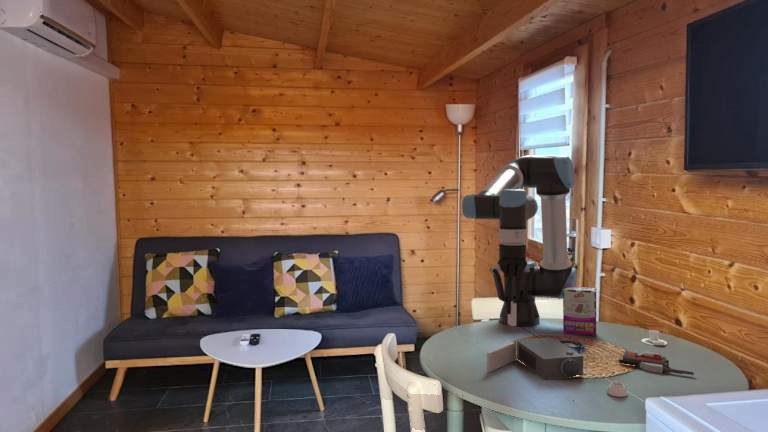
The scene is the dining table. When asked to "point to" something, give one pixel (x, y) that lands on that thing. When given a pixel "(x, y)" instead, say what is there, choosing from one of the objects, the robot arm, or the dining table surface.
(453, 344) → the dining table surface
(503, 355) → the side door
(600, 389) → the dining table surface
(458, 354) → the dining table surface
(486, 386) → the dining table surface
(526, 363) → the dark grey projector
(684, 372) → the walkie-talkie
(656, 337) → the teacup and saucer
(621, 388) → the pink dome
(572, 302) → the candy bar box
